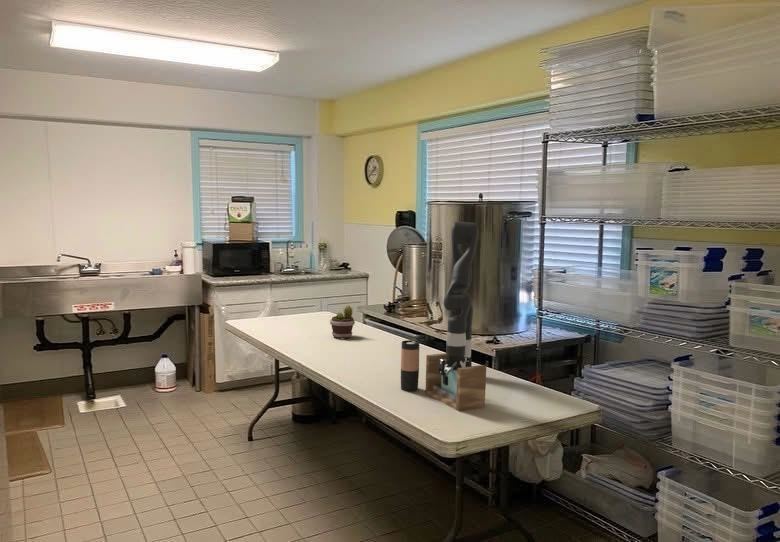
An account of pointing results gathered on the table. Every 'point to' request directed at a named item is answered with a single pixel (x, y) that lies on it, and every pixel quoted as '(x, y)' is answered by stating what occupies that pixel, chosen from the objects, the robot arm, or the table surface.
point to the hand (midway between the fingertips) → (454, 383)
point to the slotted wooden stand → (468, 385)
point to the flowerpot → (343, 324)
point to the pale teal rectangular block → (451, 382)
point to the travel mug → (409, 365)
